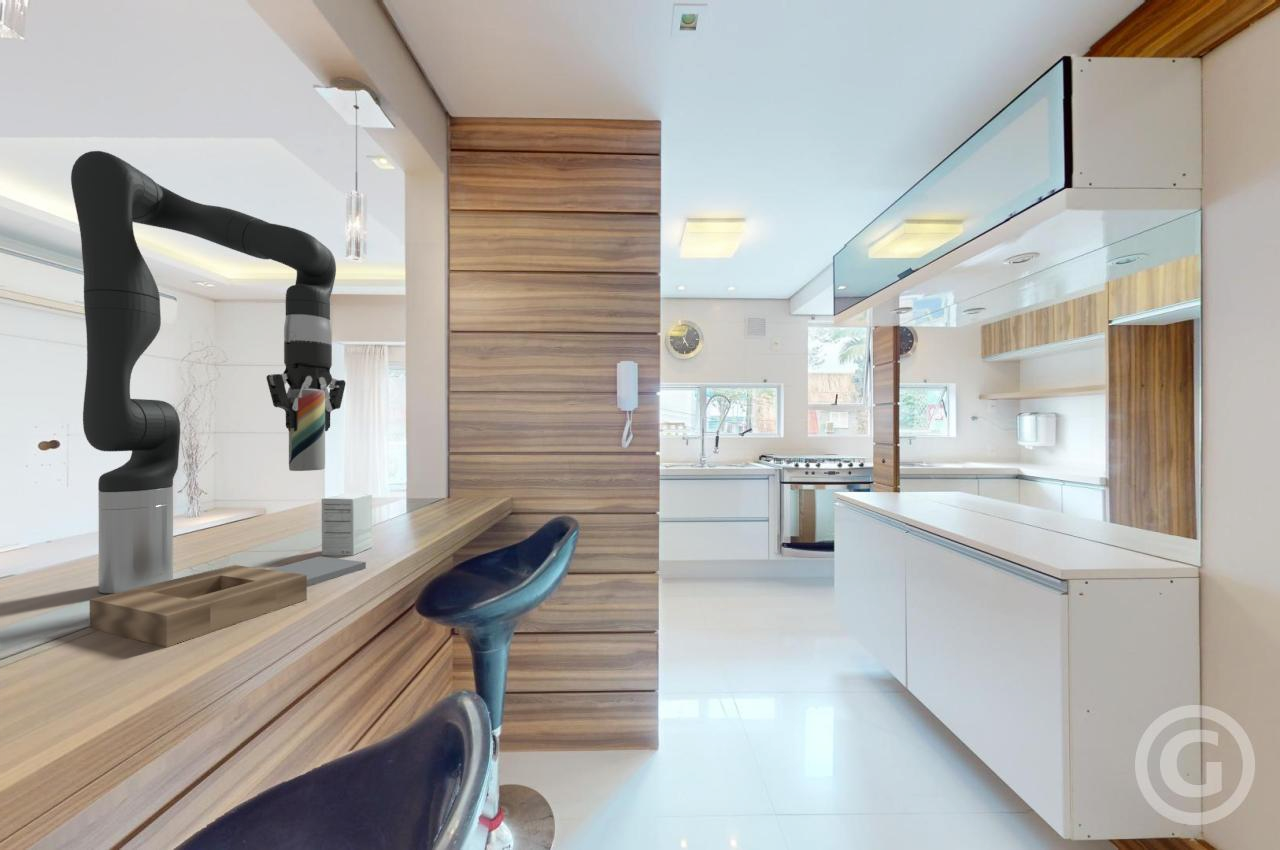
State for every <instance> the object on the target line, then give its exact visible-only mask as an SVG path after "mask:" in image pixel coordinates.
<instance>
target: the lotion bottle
mask: <svg viewBox="0 0 1280 850" xmlns="http://www.w3.org/2000/svg"><path fill="white" fill-rule="evenodd" d="M304 375H305V376H311V377H312V382H311V385H310V386H309V388H308V389H303V390H302V398H300V399H298V410H297V412H298V417H297V431H295V432H294V428H290V432H289V431H288V469H289V471H290V472H304V471H306V472H307V471H308V472H309V471H320V470H324V469H325V468H326V431H325V392H324V391H323V390H318V389H316V388H319V384H318V378H319V368H318V367H315V366H306V367H305V368H304ZM298 391H299V389H291V390H289V394H290V395H291V396H293V395H295V394H296V393H297V392H298ZM293 400H294V398H290V403H292V402H293ZM295 412H296V411H295Z"/></svg>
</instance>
